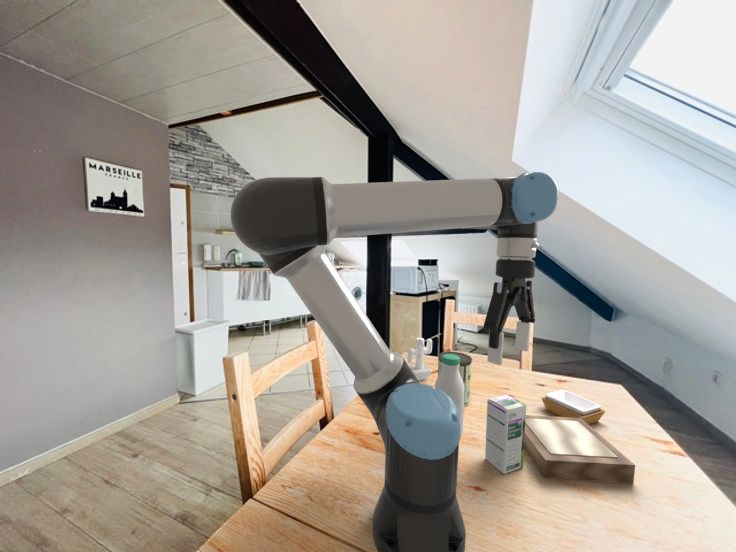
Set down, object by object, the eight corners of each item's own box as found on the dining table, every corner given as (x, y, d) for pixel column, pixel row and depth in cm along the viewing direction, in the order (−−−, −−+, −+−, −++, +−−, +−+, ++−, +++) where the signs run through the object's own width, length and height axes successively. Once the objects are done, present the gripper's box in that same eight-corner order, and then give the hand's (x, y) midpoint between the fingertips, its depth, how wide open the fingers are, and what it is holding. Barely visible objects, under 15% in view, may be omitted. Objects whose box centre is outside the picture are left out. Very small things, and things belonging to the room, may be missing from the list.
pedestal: (544, 477, 66) (545, 459, 65) (510, 428, 83) (511, 413, 83) (633, 483, 65) (635, 464, 64) (579, 432, 82) (580, 417, 82)
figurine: (403, 375, 117) (404, 336, 116) (425, 372, 120) (426, 334, 119) (412, 383, 110) (413, 342, 109) (435, 380, 114) (436, 340, 112)
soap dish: (604, 423, 88) (606, 406, 87) (582, 431, 84) (584, 413, 83) (561, 403, 99) (562, 387, 98) (540, 408, 95) (541, 392, 94)
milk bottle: (464, 440, 78) (468, 362, 76) (432, 436, 79) (435, 360, 78) (461, 423, 85) (464, 352, 84) (432, 420, 87) (435, 350, 85)
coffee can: (435, 390, 105) (437, 350, 104) (467, 394, 103) (469, 352, 102) (436, 406, 95) (438, 361, 94) (472, 409, 93) (474, 364, 92)
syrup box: (504, 475, 66) (508, 409, 65) (483, 458, 71) (487, 397, 70) (523, 468, 68) (527, 404, 67) (501, 451, 74) (505, 393, 72)
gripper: (507, 259, 55) (500, 375, 57) (554, 259, 72) (547, 349, 74) (469, 258, 60) (463, 364, 62) (521, 258, 77) (515, 341, 79)
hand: (508, 356), depth 68 cm, fingers open, 13 cm apart
